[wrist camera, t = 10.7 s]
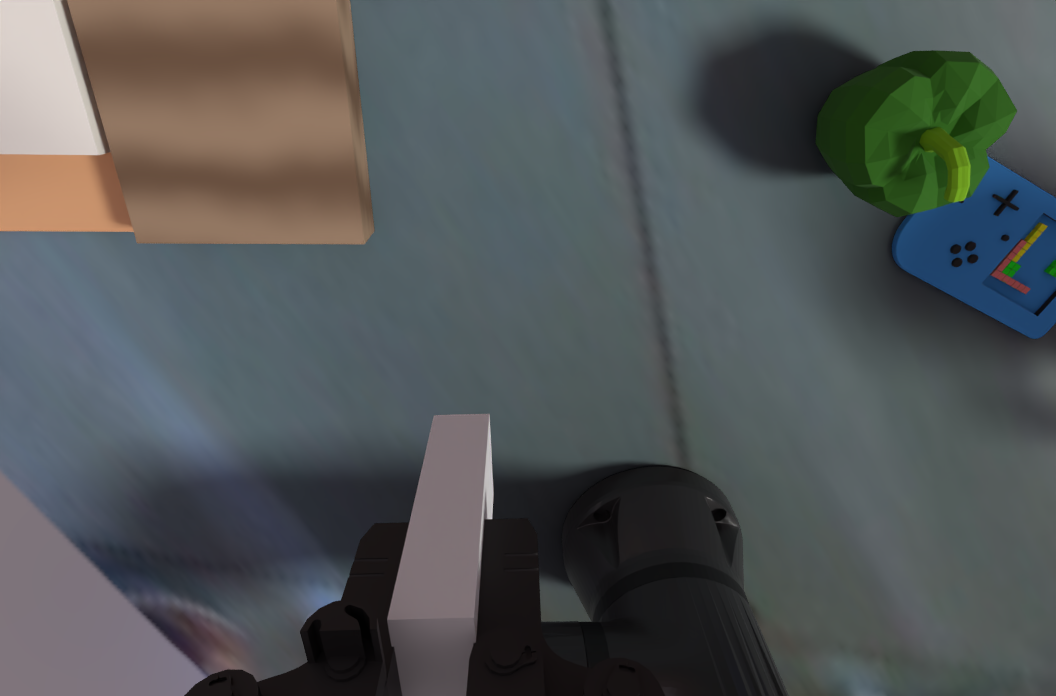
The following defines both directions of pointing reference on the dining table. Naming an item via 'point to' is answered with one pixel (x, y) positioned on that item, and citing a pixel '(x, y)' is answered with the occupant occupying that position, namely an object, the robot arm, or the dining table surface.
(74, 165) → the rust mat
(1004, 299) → the handheld gaming device
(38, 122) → the cream block
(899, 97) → the bell pepper
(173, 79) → the board
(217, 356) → the dining table surface
